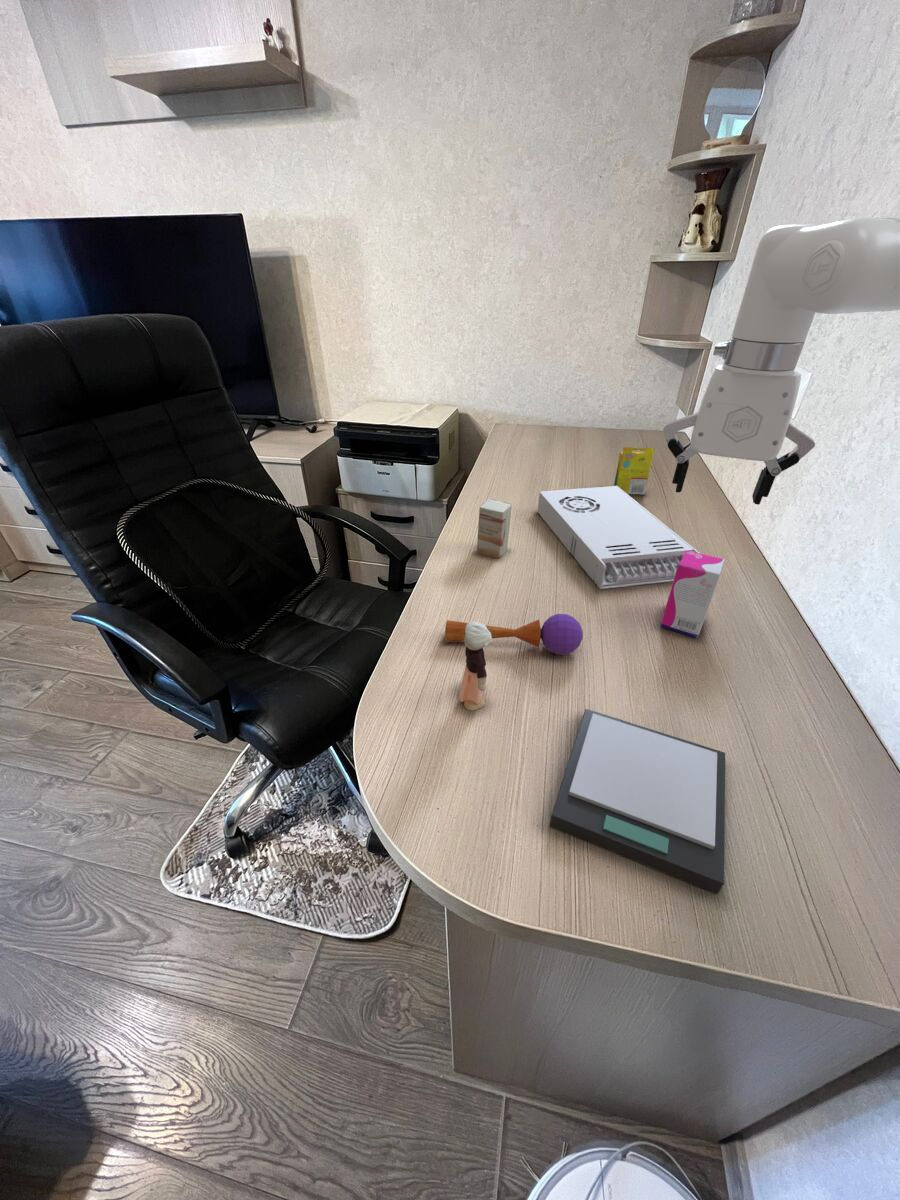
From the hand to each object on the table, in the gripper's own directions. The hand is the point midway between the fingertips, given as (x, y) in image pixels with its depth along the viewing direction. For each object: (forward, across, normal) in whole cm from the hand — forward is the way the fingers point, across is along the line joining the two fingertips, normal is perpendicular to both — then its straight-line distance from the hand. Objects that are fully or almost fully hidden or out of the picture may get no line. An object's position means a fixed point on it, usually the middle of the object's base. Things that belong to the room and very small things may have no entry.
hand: (716, 494), depth 68 cm
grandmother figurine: (+22, -23, -29) cm, 43 cm away
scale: (+22, -2, -34) cm, 41 cm away
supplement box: (+22, +1, 0) cm, 22 cm away
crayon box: (+22, -14, +53) cm, 59 cm away
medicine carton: (+22, -35, +10) cm, 42 cm away
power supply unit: (+22, -14, +24) cm, 36 cm away
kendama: (+22, -22, -16) cm, 35 cm away
